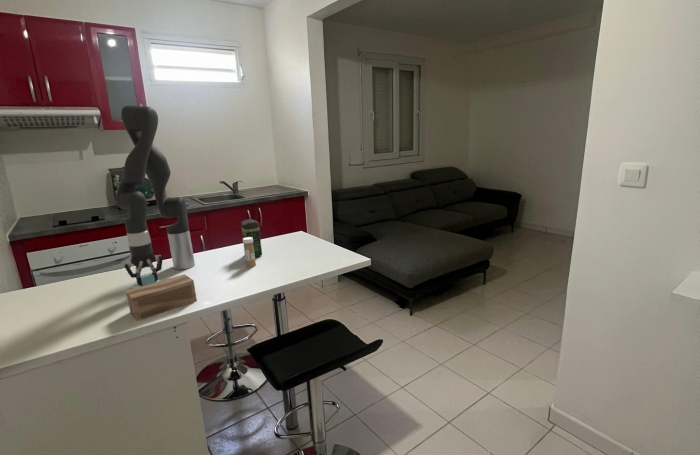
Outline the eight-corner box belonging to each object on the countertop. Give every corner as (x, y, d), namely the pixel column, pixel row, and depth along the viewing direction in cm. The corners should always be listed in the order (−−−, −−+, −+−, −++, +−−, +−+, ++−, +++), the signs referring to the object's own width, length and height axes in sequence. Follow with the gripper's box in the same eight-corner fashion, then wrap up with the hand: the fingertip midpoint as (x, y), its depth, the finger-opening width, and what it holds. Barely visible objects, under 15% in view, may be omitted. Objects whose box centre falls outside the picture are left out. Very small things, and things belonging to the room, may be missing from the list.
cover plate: (133, 289, 140) (130, 278, 139) (160, 281, 147) (158, 270, 146) (144, 301, 129) (141, 289, 128) (173, 292, 135) (170, 281, 134)
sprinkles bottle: (257, 265, 166) (254, 238, 162) (247, 268, 164) (244, 240, 160) (254, 263, 170) (250, 236, 166) (244, 265, 167) (241, 238, 164)
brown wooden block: (130, 312, 126) (125, 290, 124) (188, 293, 139) (184, 274, 137) (137, 320, 120) (132, 298, 118) (196, 300, 133) (193, 280, 131)
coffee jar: (264, 256, 178) (260, 220, 174) (248, 259, 174) (244, 223, 170) (258, 251, 186) (254, 217, 182) (243, 254, 182) (238, 219, 178)
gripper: (157, 236, 144) (164, 275, 149) (116, 245, 135) (125, 286, 139) (162, 240, 139) (170, 280, 143) (120, 249, 130) (130, 292, 134)
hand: (148, 283), depth 141 cm, fingers closed on cover plate, 4 cm apart
